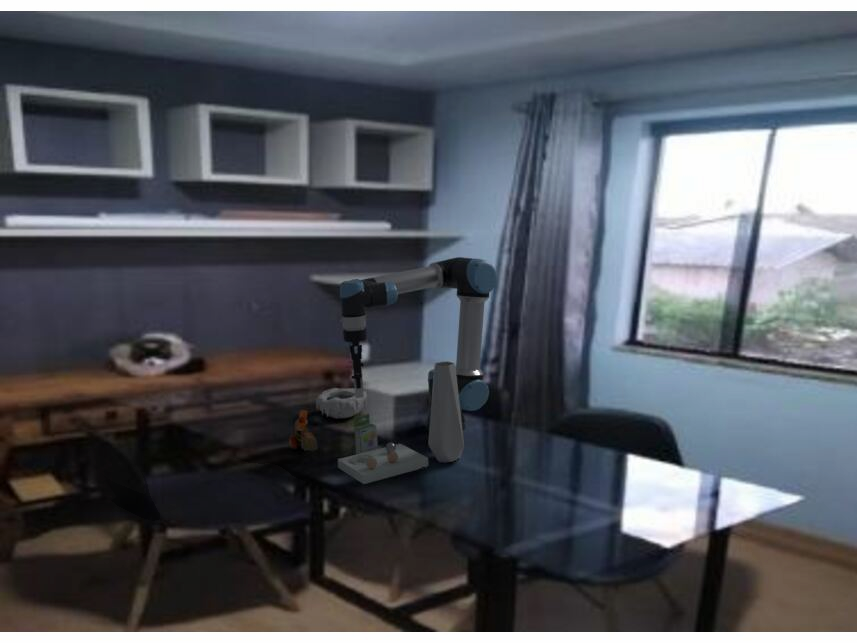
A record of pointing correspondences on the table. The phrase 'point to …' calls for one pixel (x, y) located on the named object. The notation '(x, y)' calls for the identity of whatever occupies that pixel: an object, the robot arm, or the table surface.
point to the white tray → (382, 464)
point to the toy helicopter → (303, 434)
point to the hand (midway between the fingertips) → (359, 391)
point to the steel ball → (390, 447)
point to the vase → (445, 414)
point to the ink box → (365, 435)
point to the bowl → (340, 402)
